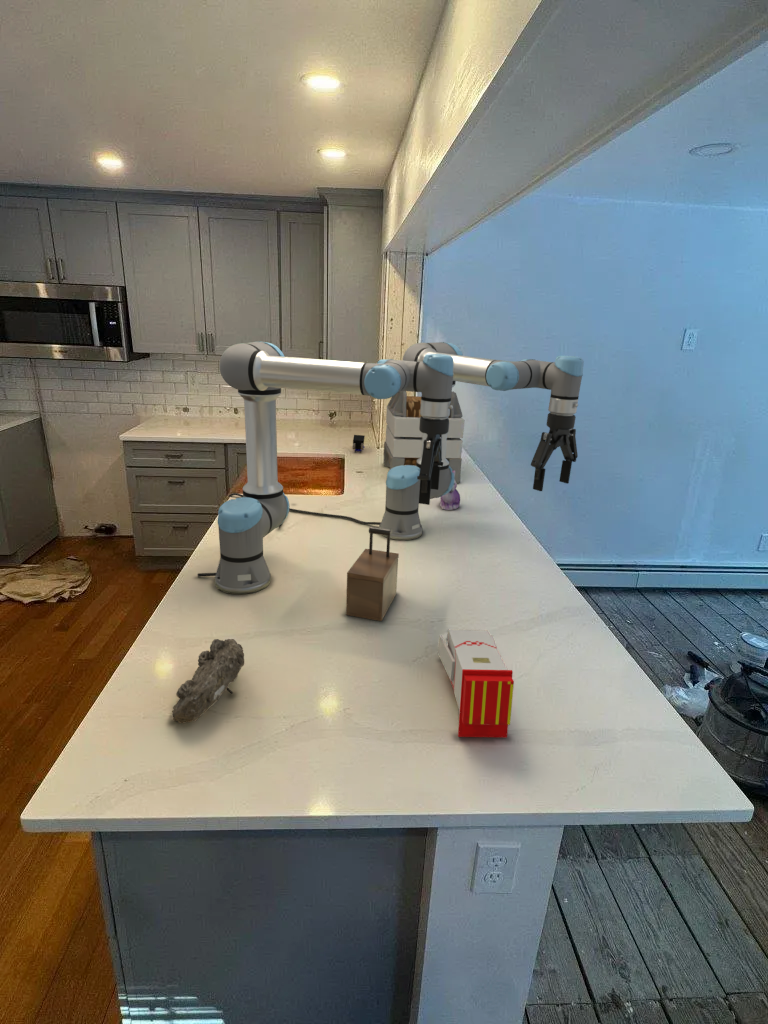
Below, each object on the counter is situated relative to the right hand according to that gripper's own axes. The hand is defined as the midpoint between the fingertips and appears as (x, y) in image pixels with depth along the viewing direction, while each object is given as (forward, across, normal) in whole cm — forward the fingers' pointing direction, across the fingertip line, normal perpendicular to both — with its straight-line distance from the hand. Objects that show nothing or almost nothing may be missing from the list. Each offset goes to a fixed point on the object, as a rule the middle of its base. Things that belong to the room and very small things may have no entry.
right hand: (551, 486), depth 165 cm
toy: (+28, -62, -25) cm, 72 cm away
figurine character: (+28, +50, +152) cm, 162 cm away
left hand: (0, -37, +14) cm, 39 cm away
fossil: (+28, -103, +7) cm, 107 cm away
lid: (+17, -54, +16) cm, 58 cm away
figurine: (+28, +23, +58) cm, 68 cm away
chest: (+28, -54, +16) cm, 63 cm away
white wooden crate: (+28, +47, +100) cm, 115 cm away
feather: (+28, -37, +85) cm, 97 cm away
